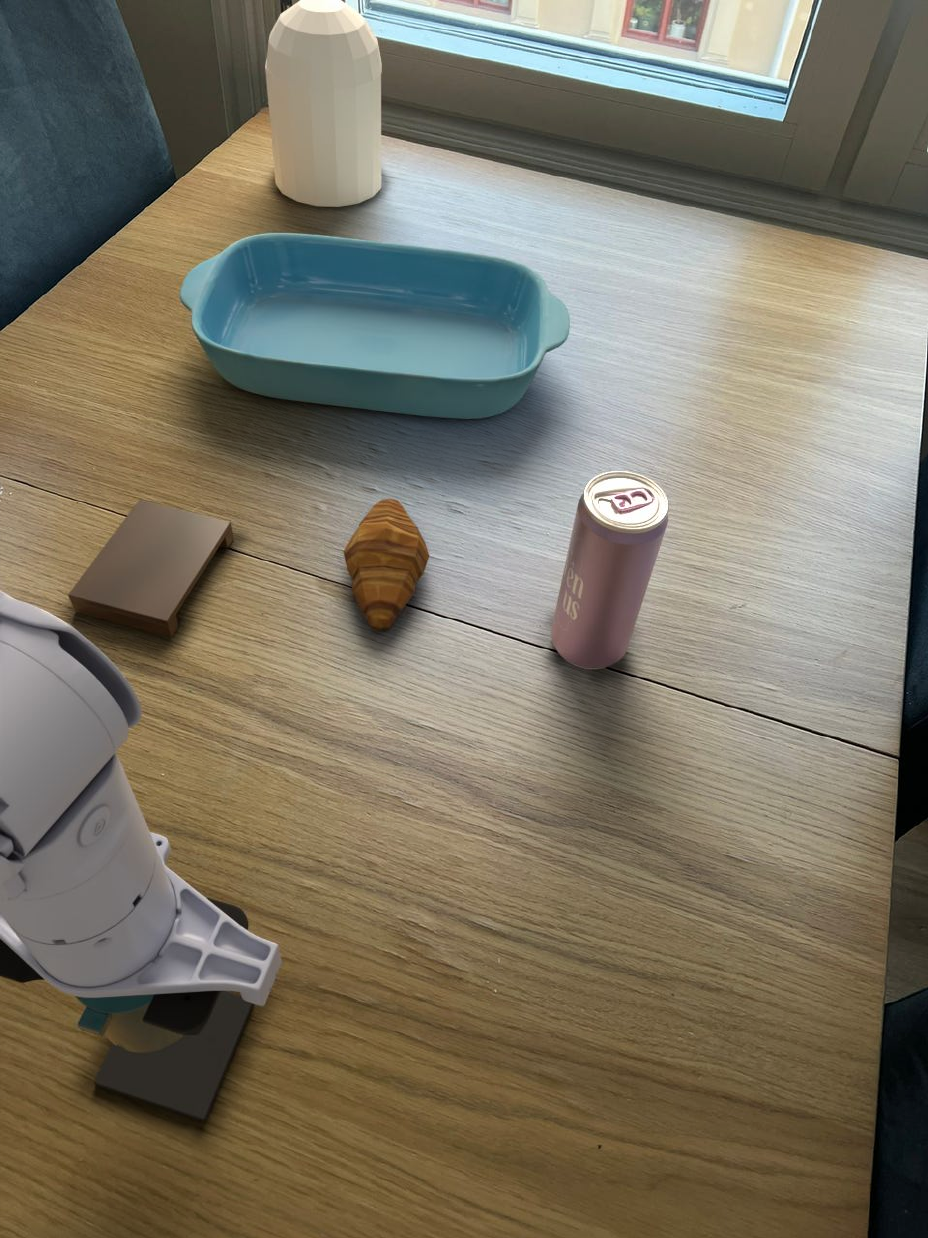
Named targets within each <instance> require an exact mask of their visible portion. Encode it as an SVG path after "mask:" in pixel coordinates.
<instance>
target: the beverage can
mask: <svg viewBox="0 0 928 1238" xmlns="http://www.w3.org/2000/svg"><path fill="white" fill-rule="evenodd" d="M669 502H670V501H669V498H668V496H667V494H666V493H665V491H664V490H663V489H662V487H660V486H659V485H658V484H657V483H656V482H655V481H653V480H652V479H651V478H649V477H647V476H645V475H641V474H639V473H635V472H631V471H623V470H613V471H608V472H607V471H606V472H603V473H600V474H598V475H596V476H594V477H593V478H592V479H590V480H589V482H587V484H586V485H585V487H584V489H583V493H582V494H581V495H580V496H579V499H578V502H577V506H576V511H575V517H574V521H573V526H572V530H571V535H570V539H569V544H568V549H567V554H566V560H565V563H564V567H563V571H562V577H561V582H560V587H559V591H558V596H557V600H556V604H555V605H556V606H555V610H554V614H553V619H552V623H551V629H550V638H551V643H552V644H553V647H554V648H555V650H556V652H557V653H558V654H559V655H560V656H561V658H562V659H564V660H565V661H566V662H567V663H569V664H570V665H572V666H575V667H577V668H581V669H584V670H602V669H605V668H608V667H611V666H613V665H614V664H616V663H618V662H620V660H622V659H623V657H624V656H625V655H626V653H627V651H628V649H629V645H630V642H631V639H632V636H633V633H634V630H635V626H636V624H637V621H638V617H639V614H640V612H641V608H642V605H643V602H644V599H645V595H646V592H647V589H648V586H649V583H650V580H651V577H652V574H653V571H654V568H655V564H656V562H657V558H658V555H659V552H660V549H661V546H662V543H663V540H664V536H665V534H666V530H667V527H668V523H669V512H670V511H669V510H670V503H669Z"/></svg>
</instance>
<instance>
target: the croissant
mask: <svg viewBox="0 0 928 1238" xmlns="http://www.w3.org/2000/svg"><path fill="white" fill-rule="evenodd" d="M343 555H344V560H345V561H344V562H345V564H346V569H347V572H348V574H349V576H350V578H351V580H352V586H351V591H352V594H353V596H354V597H355V600H356V602H357V604H358V606H359V609H360V611H361V612H362V614H363V615H364V617H365V619H366V621H367V622H368V626H369V627H370V629H371V630H373V631H376V632H385V631H389V630H390V628H391V627H392V626H393V624H394V622H395V621H396V619H397V618H398V616H399V615H400V613H401V612H402V611H403V609H404V607H405V606H406V605H407V603H408V602H409V600H410V599H411V598H412V597H413V595H414V593H415V588H416V583H417V582H418V581H419V579H420V578H421V577H422V576H423V575H424V572H425V570H426V567H427V564H428V561H429V559H430V553H429V550H428V547H427V543H426V541H425V539H424V537H423V535H422V534H421V532H420V530H419V527H418V526H417V525H416V523H415V522H414V521H413V520H412V519H411V517H410V516H409V514H408V512H407V511H406V509H405V507H404V505H403V504H402V503H400V501H399V500H398V499H394V498H384V499H381V500H379V501H378V502H377V503H375V504H374V505H373V506H372V508H371V509H370V510H369V511H368V513H367V514H366V515H365V517H364V518H363V519H362V520H361V522H360V523H359V524H358V528H357V529H356V530H355V531H354V533H353V534H352V536H351V537H350V539H349V540H348V543H347V544H346V546H345V548H344V550H343Z"/></svg>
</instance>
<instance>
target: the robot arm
mask: <svg viewBox="0 0 928 1238" xmlns="http://www.w3.org/2000/svg"><path fill="white" fill-rule="evenodd" d="M140 702H141V701H140V699H139V697H138V695H137V693H136V691H135V689H134V688H133V686H132V685H131V683H130V682H129V680H128V679H127V678H126V676H125V675H124V674H123V673H122V672H121V670H120V669H119V668H118V667H117V666H116V664H115V663H114V662H113V661H112V660H111V659H110V658H109V657H108V656H107V655H106V654H105V653H104V652H103V651H101V649H100V648H98V647H97V646H96V645H95V644H94V643H93V642H91V641H90V640H89V639H87V638H86V637H85V636H84V635H83V634H82V632H80V631H79V630H77V629H76V627H74V626H73V625H71V624H70V623H67V622H66V621H65V620H62V619H61V618H59V617H58V616H56V615H55V614H52V613H51V612H49V611H47V610H45V609H42V608H41V607H39V606H36V605H34V604H31V603H28V602H25V601H22V600H19V599H16V598H15V597H13V596H11V595H9V594H8V593H6V592H4V591H3V590H1V589H0V977H2V978H3V979H4V978H5V979H8V980H11V981H14V982H17V983H22V984H25V983H28V982H34V981H46V982H47V983H48V984H49V985H51V986H52V987H54V988H55V989H56V990H58V991H60V992H62V993H64V994H67V995H70V996H73V997H75V996H78V997H84V998H100V997H117V996H133V995H150V994H154V996H153V998H152V1000H151V1002H150V1004H149V1006H148V1009H147V1011H146V1013H145V1015H144V1017H143V1019H142V1020H143V1022H144V1023H147V1024H150V1025H153V1026H156V1027H159V1028H162V1029H165V1030H168V1031H172V1032H175V1033H178V1034H182V1035H198V1034H199V1033H200V1032H201V1030H202V1029H203V1028H204V1026H205V1025H206V1023H207V1021H208V1019H209V1017H210V1015H211V1013H212V1010H213V1008H214V1006H215V1004H216V1001H217V999H218V997H219V995H220V992H221V991H227V992H238V993H240V996H242V999H243V1000H245V1001H247V1002H250V1003H253V1004H254V1005H257V1006H260V1007H264V1006H266V1002H267V1000H268V998H269V995H270V993H271V990H272V988H273V986H274V983H275V981H276V978H277V975H278V973H279V970H280V969H281V966H282V963H283V959H282V956H281V952H280V947H279V944H278V943H276V942H273V941H271V940H268V939H265V938H262V937H260V936H258V935H257V934H255V933H253V932H251V931H249V920H248V917H247V915H246V913H245V910H243V909H242V908H240V907H239V906H236V905H234V904H231V903H227V902H224V901H220V900H217V899H214V898H212V897H205V896H204V895H203V894H201V893H200V892H199V891H198V890H196V889H195V888H194V887H193V886H191V884H189V883H188V882H187V881H185V880H184V879H183V878H182V877H180V876H179V875H178V874H177V873H175V872H174V871H173V870H172V869H170V868H169V867H168V866H167V861H168V859H169V857H170V856H171V852H172V848H171V845H170V842H169V840H168V838H167V837H166V836H164V835H162V834H159V833H155V832H152V831H150V829H149V827H148V824H147V822H146V820H145V816H144V814H143V812H142V810H141V808H140V805H139V803H138V800H137V798H136V796H135V793H134V791H133V789H132V787H131V784H130V781H129V779H128V777H127V775H126V772H125V770H124V767H123V765H122V763H121V760H120V758H119V755H118V753H117V752H118V751H119V749H120V748H121V747H122V746H123V745H124V744H125V743H126V741H127V740H128V738H129V733H130V732H129V731H130V730H129V729H130V728H133V727H135V726H137V725H138V724H139V723H140V721H141V719H142V714H143V713H142V706H141V703H140Z"/></svg>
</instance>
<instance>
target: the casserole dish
mask: <svg viewBox="0 0 928 1238" xmlns="http://www.w3.org/2000/svg"><path fill="white" fill-rule="evenodd" d="M547 285H548V284H547V283H546V281H545V279H544V278H543V277H542V276H541V275H540V274H539V273H538V272H537V271H536V270H534V269H533V268H531V267H529V266H527V265H525V264H522V263H520V262H518V261H515V260H511V259H508V258H503V257H500V256H494V255H489V254H483V253H477V252H476V253H475V252H469V251H461V250H454V249H447V248H440V247H439V248H438V247H428V246H420V245H412V244H402V243H395V242H394V243H393V242H385V241H377V240H376V241H375V240H369V239H368V240H367V239H358V238H348V237H341V236H330V235H322V234H321V235H319V234H308V233H294V232H268V233H260V234H254V235H250V236H247V237H243V238H241V239H238V240H236V241H234V242H232V243H231V244H229V246H228V247H226V248H224V250H223V251H221V252H220V253H218V254H217V255H214V256H212V257H210V258H208V259H206V260H203V261H202V262H200V263H198V264H197V265H195V266H194V267H193V268H192V269H191V270H189V272H188V273H187V274H186V276H185V278H184V280H183V282H182V283H181V286H180V289H179V299H180V302H181V304H182V305H183V306H184V307H185V308H186V309H187V310H188V311H190V313H191V315H190V325H191V328H192V332H193V335H195V337H196V339H197V341H198V342H199V345H200V346H201V348H202V350H203V352H204V354H205V355H206V356H207V358H208V360H209V362H210V363H211V365H212V366H213V368H214V369H215V370H216V372H217V373H218V374H219V375H220V376H221V377H222V378H223V379H224V380H226V381H227V382H228V383H230V384H231V385H232V386H234V387H237V388H239V389H241V390H244V391H247V392H250V393H253V394H257V395H259V396H265V397H268V398H274V399H280V400H288V401H296V402H301V403H302V402H303V403H311V404H319V405H325V406H326V405H327V406H334V407H335V406H336V407H343V408H351V409H362V410H370V411H376V412H377V411H378V412H385V413H386V412H387V413H395V414H403V415H412V416H421V417H431V418H444V419H445V418H446V419H465V420H474V419H475V420H479V419H480V420H481V419H486V418H491V417H494V416H498V415H500V414H503V413H505V412H507V411H509V410H510V409H511V408H513V407H515V405H516V404H518V403H519V402H520V401H521V400H522V398H523V396H524V395H525V394H526V393H527V390H528V389H529V388H530V385H531V383H532V381H533V379H534V377H535V375H536V374H537V372H538V369H539V368H540V366H541V364H542V362H543V360H544V357H545V356H546V354H547V353H549V352H551V351H554V350H555V349H559V348H560V347H561V346H562V345H564V343H566V341H567V340H568V338H569V334H570V327H571V325H570V323H571V319H570V313H569V309H568V307H567V305H566V304H565V303H564V301H562V300H561V299H560V298H559V297H557V296H556V295H555V294H553V293H552V292H551V291H549V288H548V286H547Z"/></svg>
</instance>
